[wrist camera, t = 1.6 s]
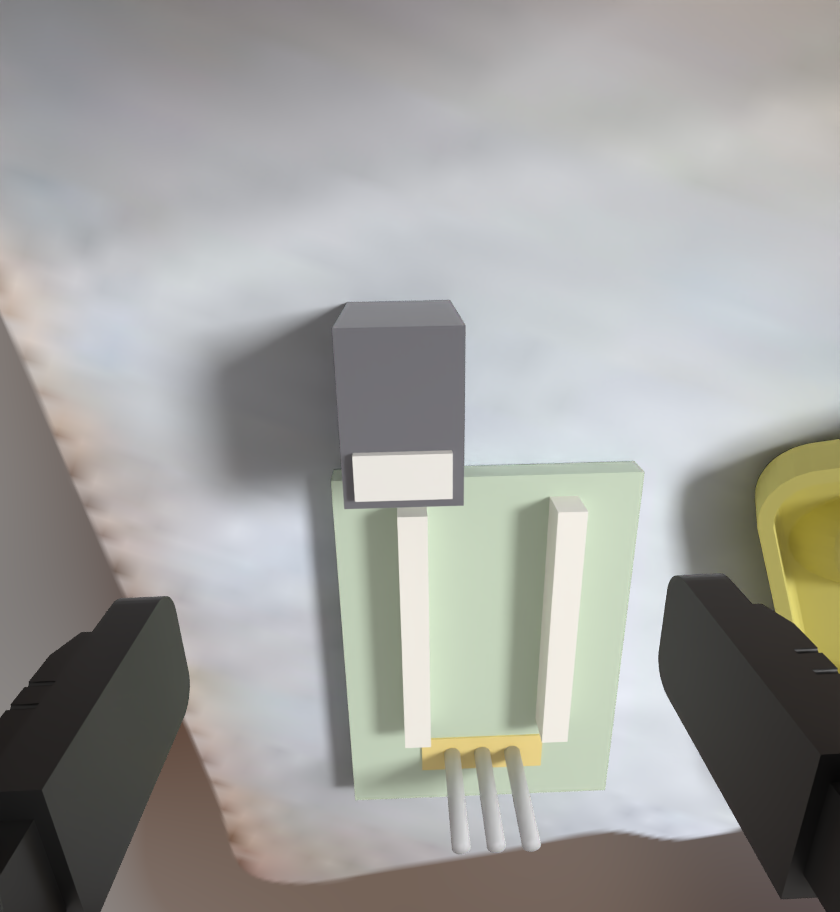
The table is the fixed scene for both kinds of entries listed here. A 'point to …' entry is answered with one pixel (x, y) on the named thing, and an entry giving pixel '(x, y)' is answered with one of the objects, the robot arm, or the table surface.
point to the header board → (488, 637)
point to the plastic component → (804, 539)
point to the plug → (400, 403)
